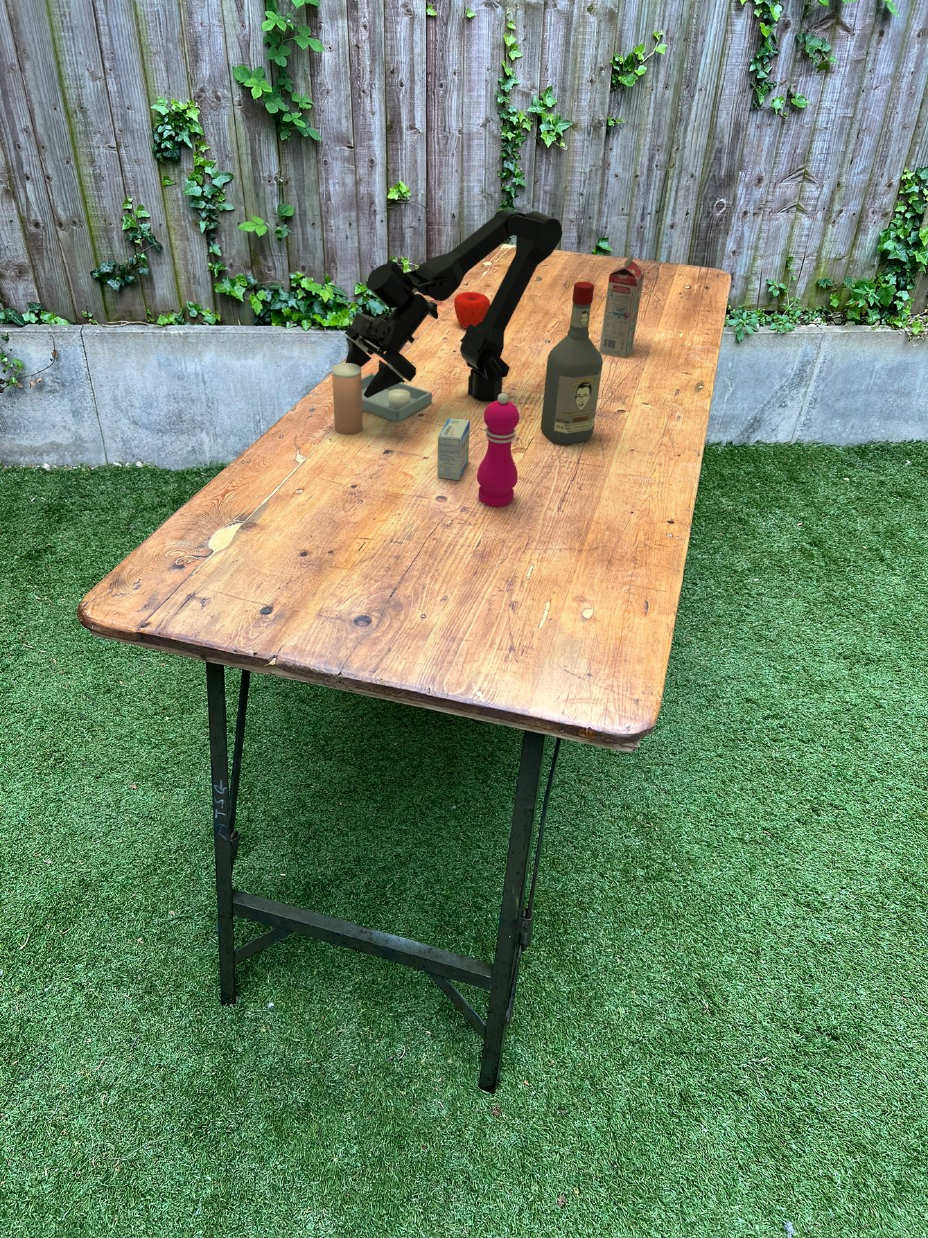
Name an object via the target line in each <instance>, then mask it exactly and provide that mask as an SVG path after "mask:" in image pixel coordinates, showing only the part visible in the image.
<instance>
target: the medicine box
mask: <svg viewBox="0 0 928 1238" xmlns="http://www.w3.org/2000/svg"><path fill="white" fill-rule="evenodd" d="M470 427H471V421H470V420H467V419H459V418H449V417H448V418H447V419H446V422H445V424H444V425H443V427H442V429H441V431H440V433H439V434H438V436H437V467H436V469H437V472H436V473H437V476H436V477H437V478H439V479H445V480H451V481H452V480H454V481H460V480H461V479H462V477H463V475H464V473H465V470H466V468H467V465H468V463H469V458H470V457H469V453H470V451H469V450H470V434H471V433H470V432H471V431H470V429H471V428H470Z"/></svg>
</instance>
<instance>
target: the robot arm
mask: <svg viewBox="0 0 928 1238" xmlns="http://www.w3.org/2000/svg"><path fill="white" fill-rule="evenodd" d="M563 232H564V231H563V227H562V224H561V222H560V221H559V219H556V218H555V217H552V216H550V215H547V214H545V213H542V212H540V211H537V210H533V211H530V212H528V213H523V212H520V211H512V210H509V209H507V208H502V209H498V210H497V211H496V213H495V214H494V216H493V217H492V218H491V219H490V220H488V221H487V222H486V223H484V224H483V225H482V226H480V227H479V228H478V229H477V230H475V232H473V233H472V234H471V235H469V236H468V237H467V238H466V239H464V240H463V241H462V242H461V243H460V244H458V245H457V246H456V247H455V248H453V249H452V250H450V251H449V252H447V253H445V254H444V253H443V254H440V255H437V256H433V257H431V258H430V259H428V260H426V261H425V262H424V263H421V264H420V265H419V267H418V268H416V269H412V270H407V271H406V272H404V271H403V270H402V268H401V266H400V265H399V264H398V263H397V262H396V261H395V260H393V259H389V260H388V261H387V262H386V263H384V264H381V265H379V266H378V267H376V268H374V269H373V270H372V271H371V272H370V273H369V275H368V277H367V280H366V288H367V289H368V290H369V291H370V292H371V293H372V294H373V295H374V296H375V297H376V298H377V299H378V300H379V301H380V302H382V304H383V305H384V306H385V307H387V308H388V309H392V311H391V312H390V313H389V315H387V314H386V313H384V314H382V315H380V316H375V317H373V316H370V315H367V314H365V313H362V312H359V311H356V312H355V313H354V317H353V320H352V323H351V325H349V326H348V328H347V329H346V330H345V332H344V335H346V337H345V341H346V342H347V347H348V351H347V356H346V359H345V362H344V363H351V364H356V365H358V366H360V367H361V368H362V367H364V366H365V365H366V364H367V363H368V362H370V361H371V359H372V357H371V356H372V355H374V354H375V355H377V356H378V357H379V358H381V359H382V360H383V361H382V360H381V359H378V370H377V372H376V373H375V374H376V375H375V377H374V378H373V380H372V381H371V383H370V384H369V386H368V387H367V389H366V391H365V393H364V396H365V397H366V398H369V397H371V396H373V395H375V394H377V393H379V392H381V391H383V390H385V389H387V388H389V387H392V386H394V385H396V384H399V383H404V384H406V381H408V382H409V383H411V382H412V381H413V379H414V378H415V376H416V375H417V367H416V366H415V365H414V364H413V363H412V362H411V361H409V360H408V359H407V358H406V357H405V356H404V355H403V354H401V351H402V349H404V347H405V346H406V345H407V343H408V342H409V343H410V344H413V343H414V342H415V340H416V339H415V338H414V336H413V335H414V334H415V333H416V331H417V330H418V329H419V327H420V326H421V325H422V323H423V322H424V321H425V319H426V318H427V317H428V316H430V318H433V319H434V320H438V319H439V312H438V304H437V302H443V301H444V302H445V301H446V300H448V299H450V298H451V296H452V295H453V294H454V293H455V291H457V290H458V289H459V287H460V286H461V285H462V282H463V280H464V277H465V276H466V275H467V273H468V272H470V270H472V269H473V268H474V267H476V266H477V265H478V264H479V263H481V262H482V261H483V260H484V259H485V258H487V257H488V256H489V255H490V254H492V252H494V251H495V250H496V249H498V248H499V247H501V245H502V244H504V243H505V242H506V241H508V240H509V239H510V238H511V237H513V236H514V237H515V240H516V241H515V242H516V243H515V254H514V255H513V258H512V260H511V263H510V265H509V266H508V268H507V270H506V273H505V274H504V276H503V278H502V281H501V283H500V285H499V286H498V289H497V290H496V293H495V295H494V297H493V299H492V301H491V302H490V307H489V309H488V311H487V313H486V315H485V317H484V319H483V320H482V321H481V322H480V323H479V324H477V325H476V326H474V325H472V324H470V325H469V326H468V327H467V329H466V331H465V333H464V335H463V337H462V338H461V339H460V343H461V344H460V347H459V348H460V349H459V352H460V355H461V357H462V359H463V360H464V361H465V364H466V367H468V368H470V374H469V375H468V381H467V394H468V395H469V396H471V397H472V398H473V399H474V400H476V401H479V402H487V403H488V402H490V403H492V402H494V401H497V400H498V396H499V394H501V393H503V383H504V382H503V381H504V378H507V377H508V374H509V372H510V369H511V368H510V366H509V364H507V363H506V362H505V361H504V360H503V359H502V354H503V350H504V349H505V348H504V347H505V331H506V330H507V327H508V325H509V323H510V321H511V319H512V317H513V315H514V313H515V311H516V309H517V307H518V305H519V304H520V301H521V299H522V297H523V295H524V294H525V291H526V289H527V287H528V285H529V284H530V282H531V279H532V278H533V275H534V273H535V271H536V269H537V268H538V266H539V265H540V264H541V263H542V262H544V261H545V260H546V259H548V258H550V256H551V255H552V254H553V252H554V251H555V249H556V248H557V246H558V245H559V243H560V242H561V240H562V237H563ZM413 290H414V291H416V292H418V293H414V292H413ZM426 296H427V297H430V298H431V299H432V300H434V301H437V302H436V303H435V302H434V301H428V299H426ZM385 362H386V363H385Z"/></svg>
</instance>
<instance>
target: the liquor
mask: <svg viewBox="0 0 928 1238" xmlns="http://www.w3.org/2000/svg"><path fill="white" fill-rule="evenodd" d="M594 290H595V285H594V283H592V282H589V281H576V282H574V284H573V291H572V300H571V302H572V308H571V314H570V315H571V316H570V323H569V329H568V331H567V335H566V336H565V337H563V339H561V340H560V341H559V342H558V343H557V344H556V345H554V347H552V348H551V350H550V351H549V354H548V356H547V361H546V363H547V364H546V371H545V372H546V373H545V382H544V391H543V399H542V400H543V402H542V410H541V420H540V421H541V422H540V431H541V432H542V434H543V435H544V436H545V437H546V438H547V439H548V440H549V441H550V442H552V444H555V445H559V446H565V447H567V446H574V445H579V444H584V443H588V442H589V440H590V439H591V438H592V436H593V434H594V429H595V428H594V426H595V422H596V421H595V420H596V414H597V406H598V400H599V399H598V398H599V393H600V385H601V378H602V372H603V363H604V361H603V356H602V354H600V353H599V349H598V348H597V347H596V346H595V344H594V343H593V341H592V340H591V339H590V337H589V335H590V331H589V325H590V317H591V310H592V309H591V308H592V304H593V301H594V300H593V299H594Z"/></svg>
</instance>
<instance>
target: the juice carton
mask: <svg viewBox="0 0 928 1238" xmlns="http://www.w3.org/2000/svg"><path fill="white" fill-rule="evenodd" d="M633 259H634V253H631V254H630V255H629V257H628V258H627V259H626V260H625V261H624V263H621V264H619V265H617V266H615V268H614V269H613V270H612V271H611V272H610V273H609V277H608V278H609V279H608V283H607V284H608V285H607V290H606V291H607V292H606V298H605V306H604V312H603V313H604V314H603V319H602V327H601V333H600V334H601V335H600V341H599V349H598V351H599V353H600V354H601V355H605V356H610V357H611V356H612V357H615V358H622V359H627V357H628V356H629V354H630V353H631V352H632V350H633V347H634V341H635V336H636V335H635V334H636V329H637V323H638V315H639V310H640V303H641V298H642V297H641V296H642V290H643V285H644V278H645V270H644V268H642V267H641V266H639V265H638V264H637V263H635V262H634V261H633Z"/></svg>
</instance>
